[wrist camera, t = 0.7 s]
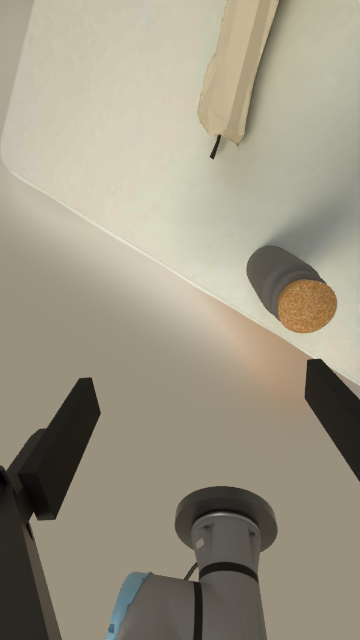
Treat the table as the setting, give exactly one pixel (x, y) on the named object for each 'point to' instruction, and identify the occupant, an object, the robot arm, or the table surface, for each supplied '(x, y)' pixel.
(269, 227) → the table surface
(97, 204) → the table surface
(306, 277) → the bottle
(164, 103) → the table surface
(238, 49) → the faceted club
